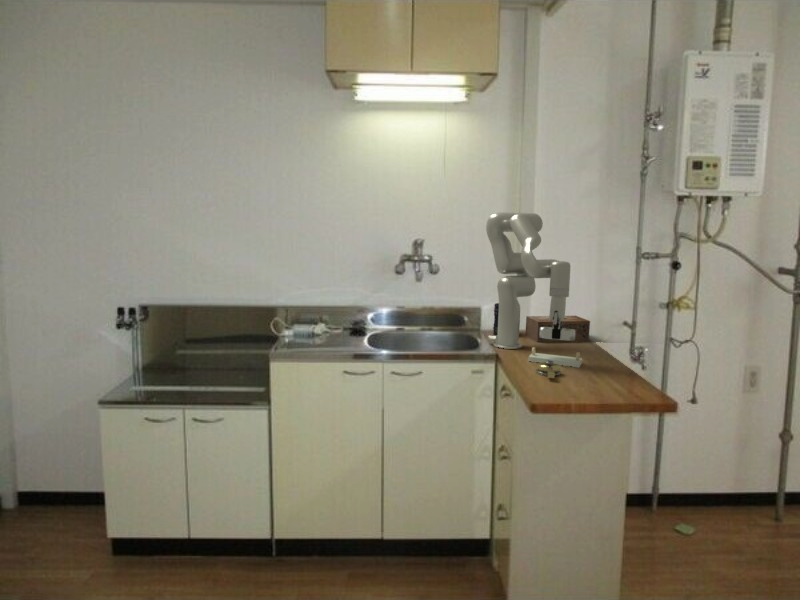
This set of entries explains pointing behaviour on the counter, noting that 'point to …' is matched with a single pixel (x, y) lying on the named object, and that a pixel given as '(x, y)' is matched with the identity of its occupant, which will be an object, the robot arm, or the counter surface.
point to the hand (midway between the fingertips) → (556, 337)
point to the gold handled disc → (549, 368)
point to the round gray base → (546, 373)
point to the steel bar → (564, 334)
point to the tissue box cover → (568, 322)
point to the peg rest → (556, 359)
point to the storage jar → (496, 319)
